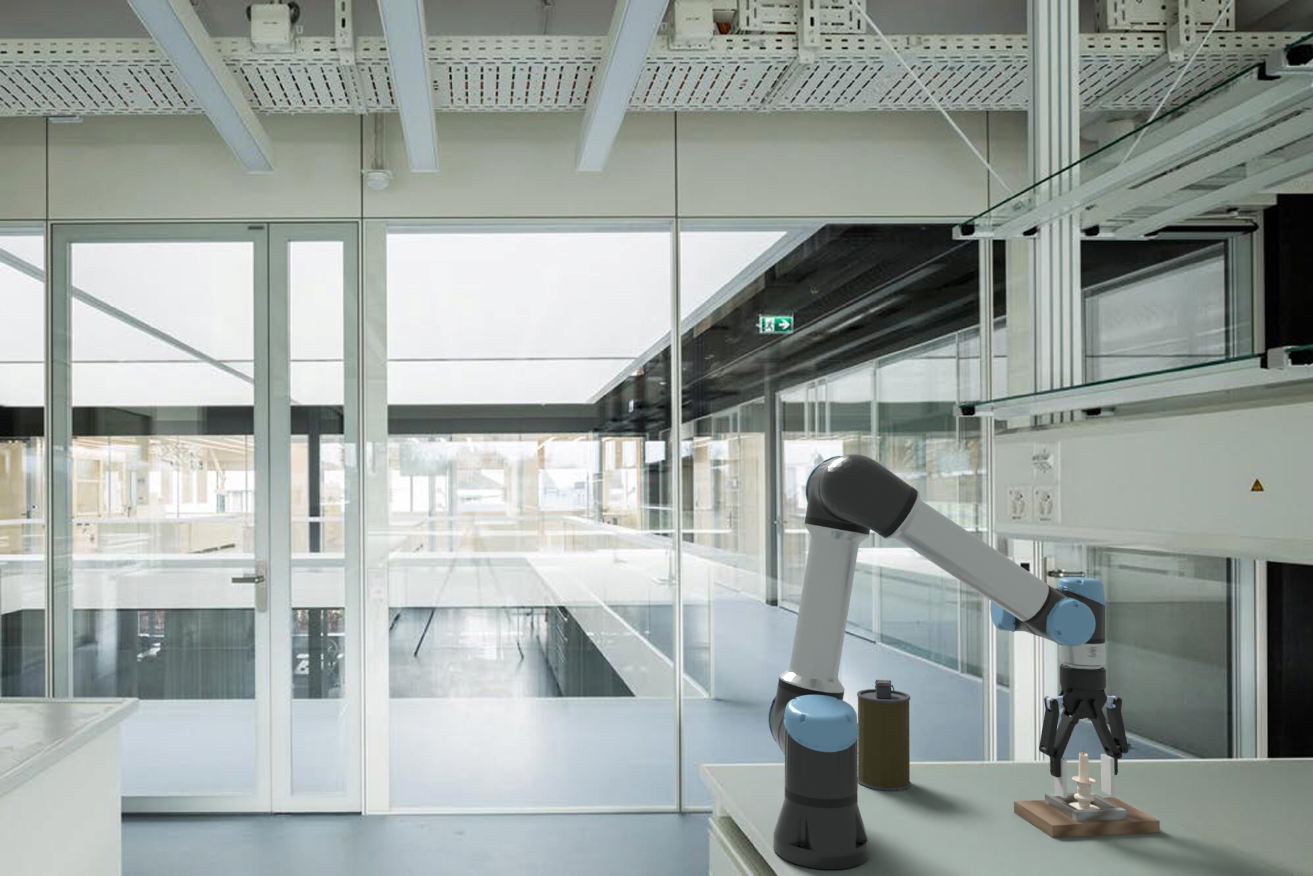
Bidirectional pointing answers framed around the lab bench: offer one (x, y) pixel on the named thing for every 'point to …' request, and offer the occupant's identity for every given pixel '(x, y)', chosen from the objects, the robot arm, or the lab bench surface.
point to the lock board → (1085, 817)
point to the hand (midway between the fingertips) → (1084, 794)
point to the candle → (1083, 785)
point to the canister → (883, 738)
